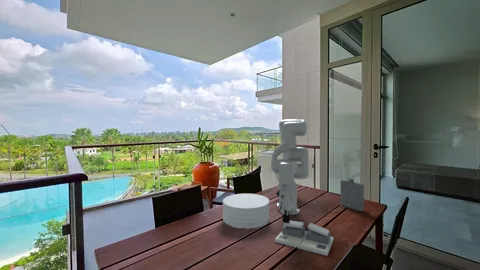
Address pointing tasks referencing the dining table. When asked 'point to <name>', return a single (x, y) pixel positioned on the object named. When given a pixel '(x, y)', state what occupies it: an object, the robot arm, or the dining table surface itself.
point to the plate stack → (246, 210)
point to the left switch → (294, 224)
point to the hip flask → (352, 194)
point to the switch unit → (305, 239)
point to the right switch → (318, 229)
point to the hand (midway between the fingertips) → (286, 222)
